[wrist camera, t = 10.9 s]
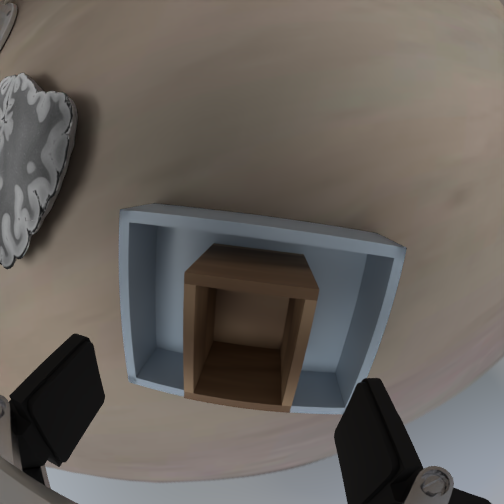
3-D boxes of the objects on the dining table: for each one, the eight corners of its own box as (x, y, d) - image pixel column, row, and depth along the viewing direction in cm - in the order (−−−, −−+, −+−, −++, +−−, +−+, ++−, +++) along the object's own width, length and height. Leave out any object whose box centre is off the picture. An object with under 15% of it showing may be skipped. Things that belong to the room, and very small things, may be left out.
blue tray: (154, 203, 17) (119, 209, 13) (376, 232, 17) (406, 247, 12) (152, 348, 20) (128, 381, 16) (338, 374, 19) (350, 413, 15)
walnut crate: (213, 243, 17) (184, 272, 11) (303, 254, 17) (319, 289, 11) (207, 341, 19) (184, 398, 13) (286, 352, 18) (289, 412, 13)
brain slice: (-28, 233, 20) (-45, 238, 17) (-7, 89, 16) (-25, 86, 13) (77, 285, 20) (56, 298, 17) (115, 73, 16) (94, 60, 13)
